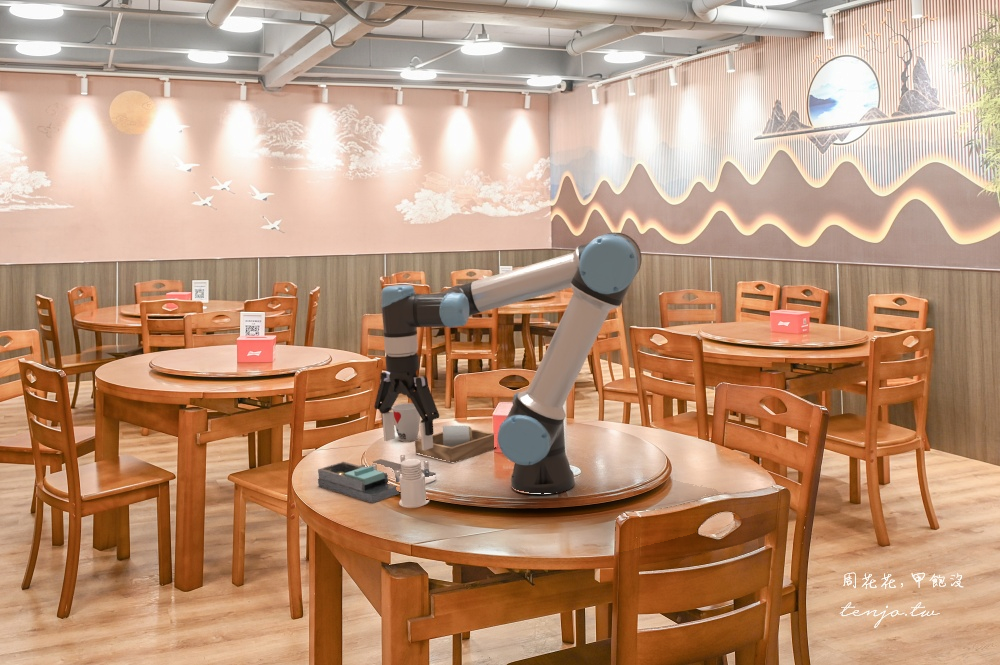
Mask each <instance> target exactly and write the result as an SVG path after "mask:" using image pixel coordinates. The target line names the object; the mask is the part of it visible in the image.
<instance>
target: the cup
mask: <svg viewBox="0 0 1000 665" xmlns="http://www.w3.org/2000/svg"><path fill="white" fill-rule="evenodd" d="M392 409H393V410H392ZM392 409H391V410H392V412H393V416H394V428H395V432H396V433H397V435H398V438H399V441H400V442H404V443H405V442H406V443H407V442H413V441H414V442H415V440H418V436H419V431H420V422H421V416H420V415H419V413H418V411H417V409H416V408H415V406H414V404H413V402H408V403H407V402H404V403H400V404H399V403H398V404H395V405H393V406H392Z"/></svg>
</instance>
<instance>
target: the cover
mask: <svg viewBox="0 0 1000 665" xmlns="http://www.w3.org/2000/svg"><path fill="white" fill-rule="evenodd" d="M344 474H345V476H348V477H352V478H355V479H359V480H362V481H364V484H365V485H366V484H369V483H372V482H375V481H378V480H381V479H384V478H385V475H384V472H381V471H377V470H374V468H373V466H369V467H363V468H359V469H356V470H353V471H350V472H347V473H344Z"/></svg>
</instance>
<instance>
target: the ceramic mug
mask: <svg viewBox="0 0 1000 665" xmlns="http://www.w3.org/2000/svg"><path fill="white" fill-rule="evenodd" d="M472 429H473V428H472V427H471V426H468V425H442V432H443V445H444V446H449V447H454V446H457V445H460V444H463V443H466V442H469V441H472Z"/></svg>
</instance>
